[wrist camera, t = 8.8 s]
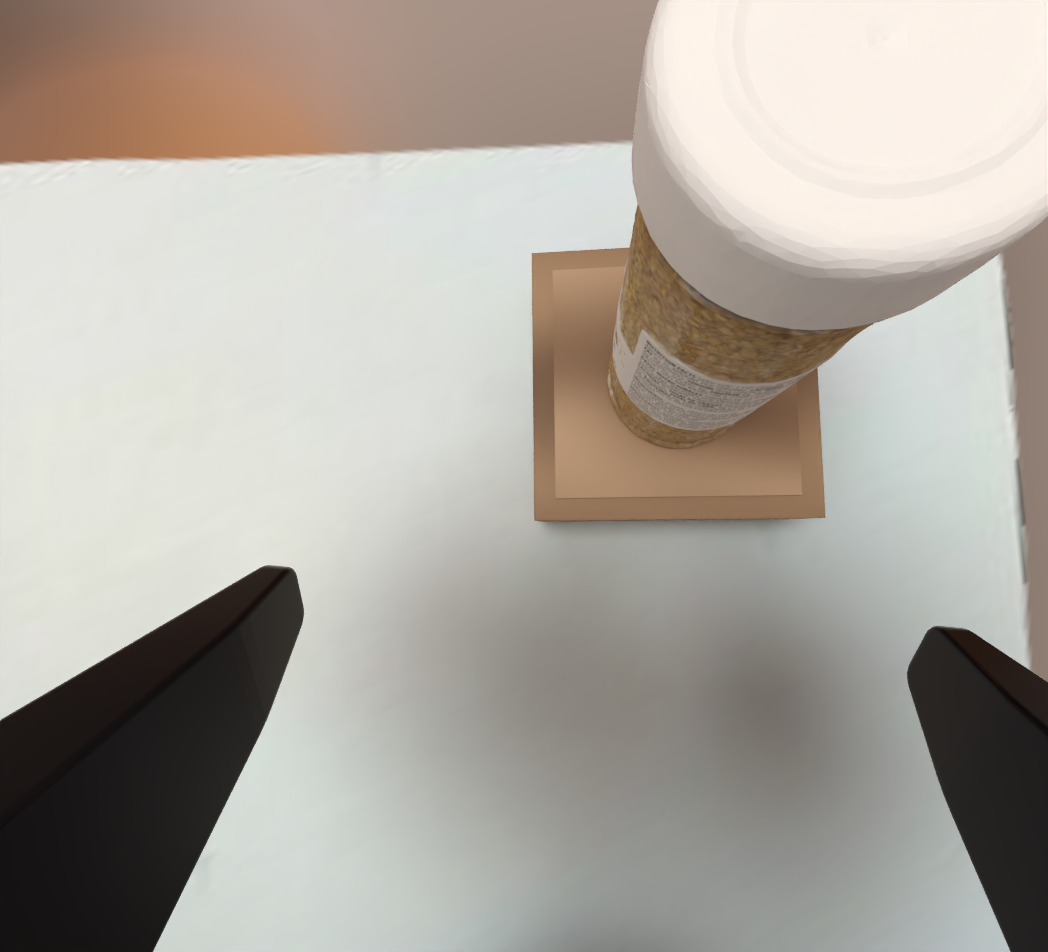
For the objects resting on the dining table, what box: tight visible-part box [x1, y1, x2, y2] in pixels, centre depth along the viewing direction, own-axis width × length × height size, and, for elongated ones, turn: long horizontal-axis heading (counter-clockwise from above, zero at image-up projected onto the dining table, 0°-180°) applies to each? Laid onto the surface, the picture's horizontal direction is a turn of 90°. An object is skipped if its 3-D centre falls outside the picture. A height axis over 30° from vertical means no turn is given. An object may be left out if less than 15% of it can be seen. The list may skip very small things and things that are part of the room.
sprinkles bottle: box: [607, 0, 1048, 448], centre depth 12 cm, size 5×5×13 cm
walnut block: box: [532, 248, 825, 521], centre depth 21 cm, size 9×9×4 cm
